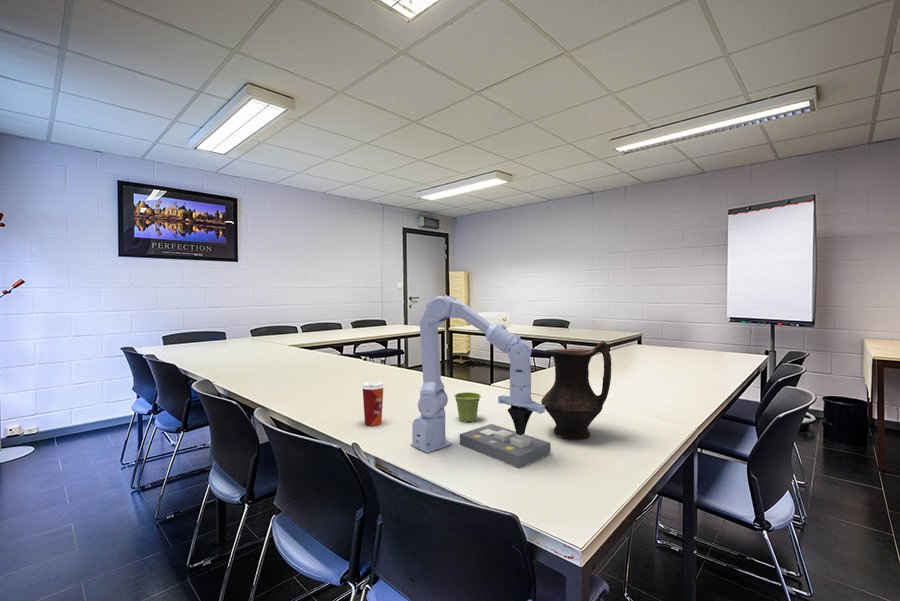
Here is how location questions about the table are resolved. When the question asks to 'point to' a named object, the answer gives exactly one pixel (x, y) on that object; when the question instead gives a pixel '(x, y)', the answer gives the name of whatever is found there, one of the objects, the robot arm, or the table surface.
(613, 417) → the table surface
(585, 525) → the table surface
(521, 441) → the end button
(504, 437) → the middle button
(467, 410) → the plant pot
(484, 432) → the end button
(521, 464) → the button board
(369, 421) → the paper cup
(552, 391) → the jug
